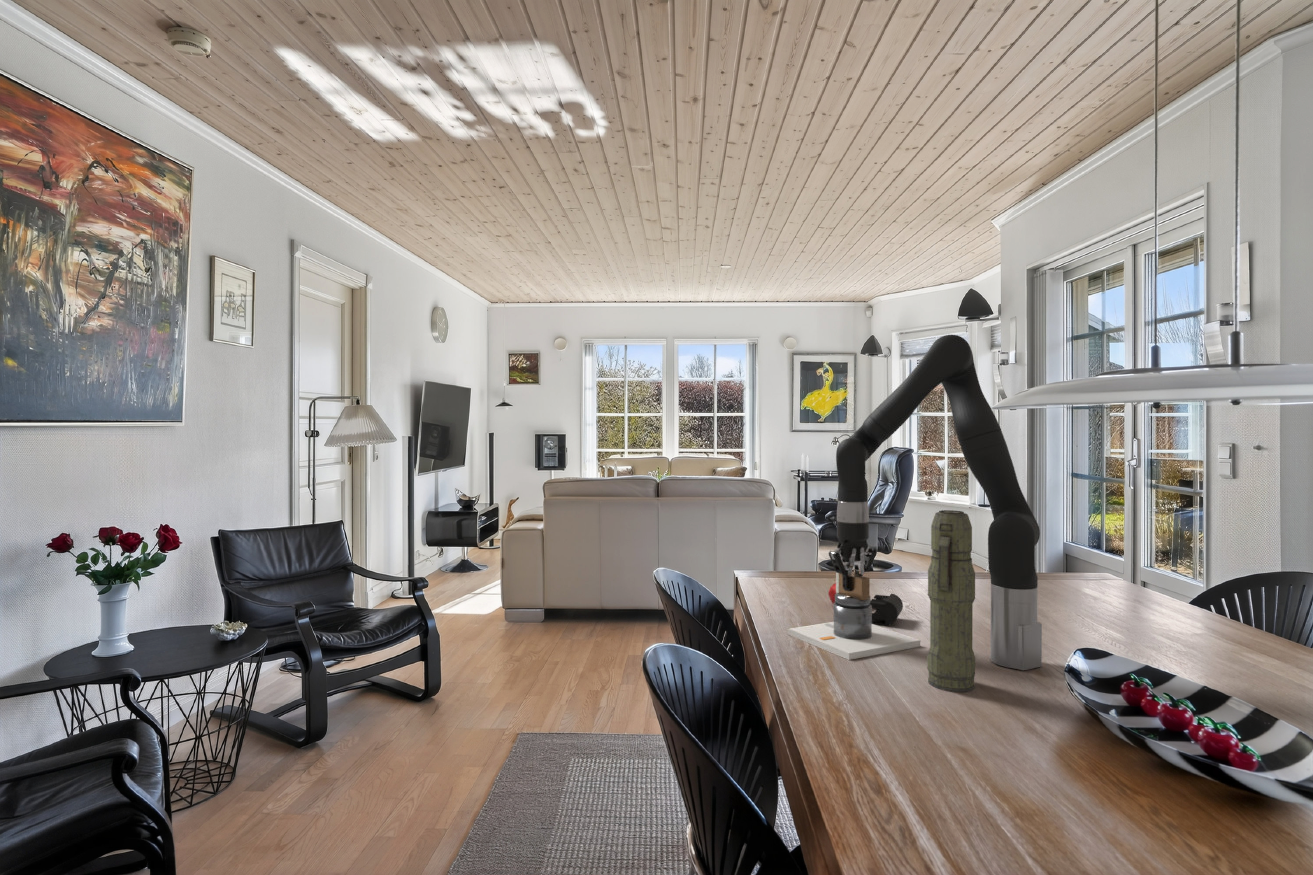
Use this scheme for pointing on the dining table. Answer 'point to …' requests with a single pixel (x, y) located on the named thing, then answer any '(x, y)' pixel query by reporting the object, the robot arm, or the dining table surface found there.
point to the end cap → (886, 609)
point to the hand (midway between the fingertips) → (852, 589)
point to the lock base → (854, 646)
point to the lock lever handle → (853, 592)
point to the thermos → (951, 603)
